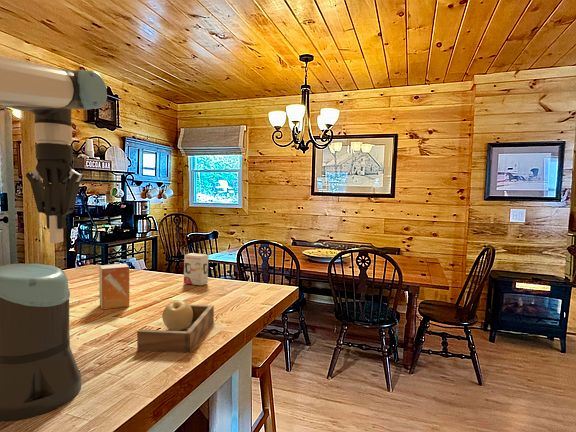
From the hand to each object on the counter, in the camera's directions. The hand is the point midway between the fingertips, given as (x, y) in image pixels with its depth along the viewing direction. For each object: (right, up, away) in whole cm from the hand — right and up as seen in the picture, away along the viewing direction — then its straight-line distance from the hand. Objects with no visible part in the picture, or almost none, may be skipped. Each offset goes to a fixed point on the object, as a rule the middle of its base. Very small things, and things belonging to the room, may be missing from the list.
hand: (56, 242), depth 90 cm
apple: (+26, -25, +10) cm, 37 cm away
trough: (+28, -24, +7) cm, 38 cm away
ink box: (+19, -21, +60) cm, 66 cm away
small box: (0, -23, +30) cm, 37 cm away
